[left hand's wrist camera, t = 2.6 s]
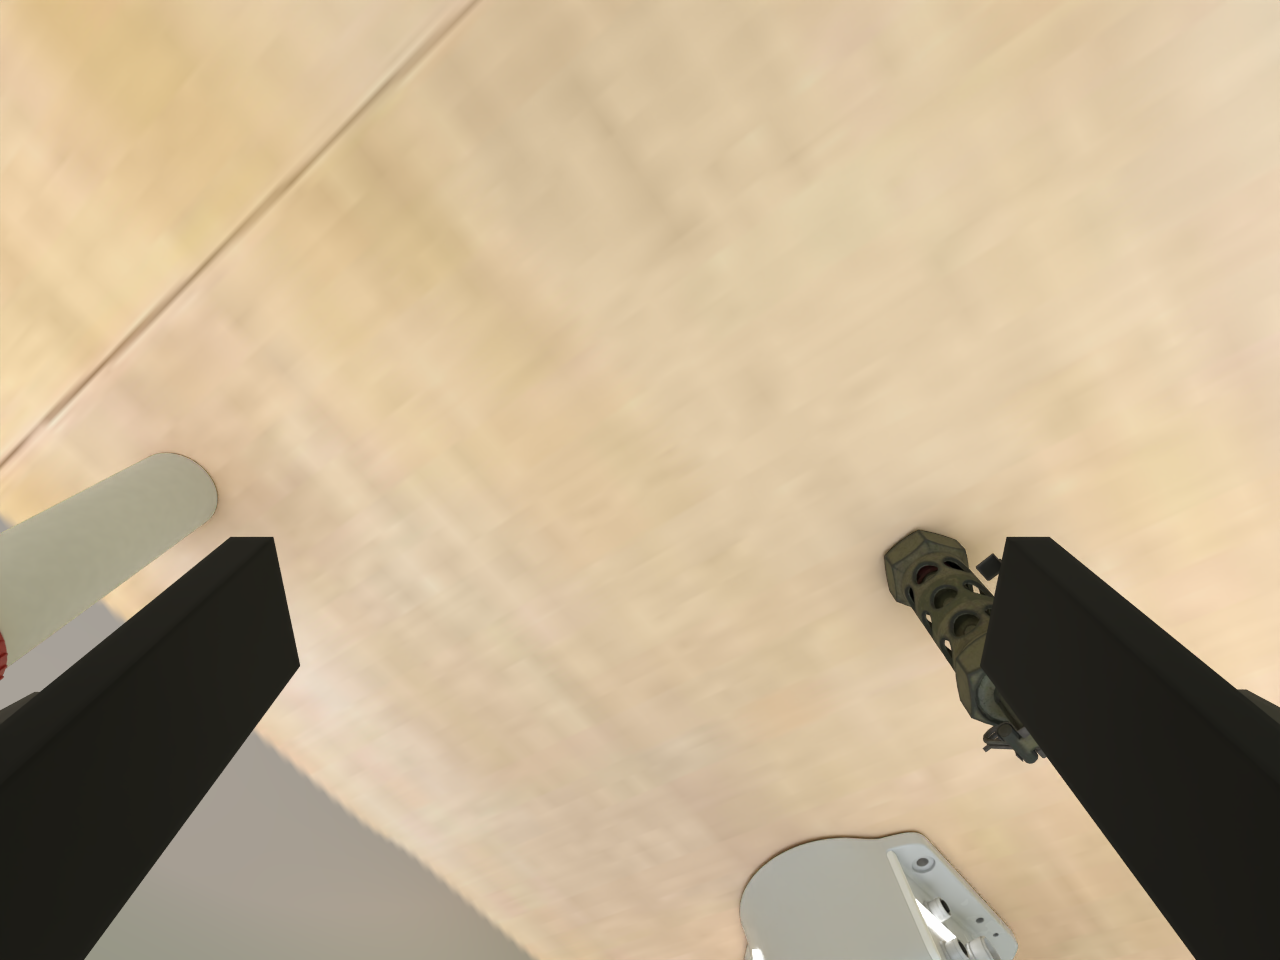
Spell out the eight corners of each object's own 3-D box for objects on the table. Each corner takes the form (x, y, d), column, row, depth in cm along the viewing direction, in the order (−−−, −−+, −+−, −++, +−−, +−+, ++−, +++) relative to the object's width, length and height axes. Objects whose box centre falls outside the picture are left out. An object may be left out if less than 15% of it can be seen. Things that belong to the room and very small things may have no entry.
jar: (221, 531, 43) (-15, 717, 28) (140, 523, 43) (-144, 705, 27) (213, 457, 42) (-45, 610, 26) (128, 448, 41) (-183, 597, 26)
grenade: (911, 632, 46) (1031, 820, 32) (855, 575, 44) (955, 746, 30) (1028, 546, 44) (1212, 708, 30) (974, 483, 42) (1140, 622, 28)
